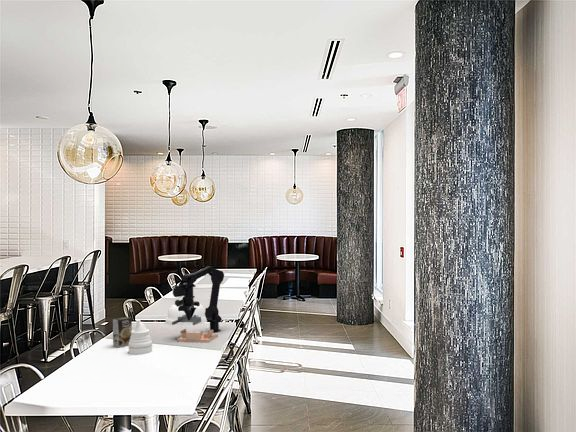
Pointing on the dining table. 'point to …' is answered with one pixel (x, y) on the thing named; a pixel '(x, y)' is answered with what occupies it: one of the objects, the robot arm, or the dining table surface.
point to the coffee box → (122, 331)
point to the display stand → (196, 336)
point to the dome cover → (174, 314)
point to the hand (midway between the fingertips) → (189, 319)
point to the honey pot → (140, 340)
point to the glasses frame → (194, 319)
